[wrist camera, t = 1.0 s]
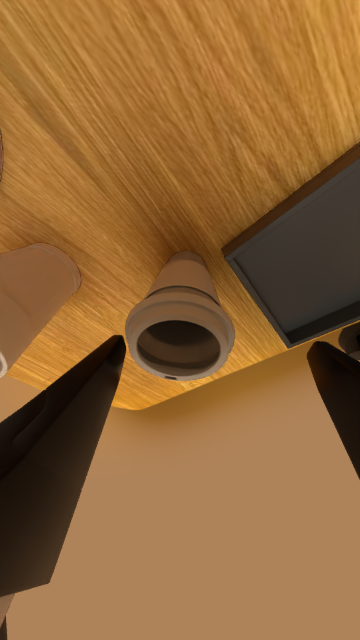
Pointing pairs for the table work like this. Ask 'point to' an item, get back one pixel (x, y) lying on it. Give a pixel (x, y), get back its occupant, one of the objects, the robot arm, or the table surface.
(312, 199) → the tray
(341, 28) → the table surface
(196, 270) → the cup
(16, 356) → the cup
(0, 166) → the cake
